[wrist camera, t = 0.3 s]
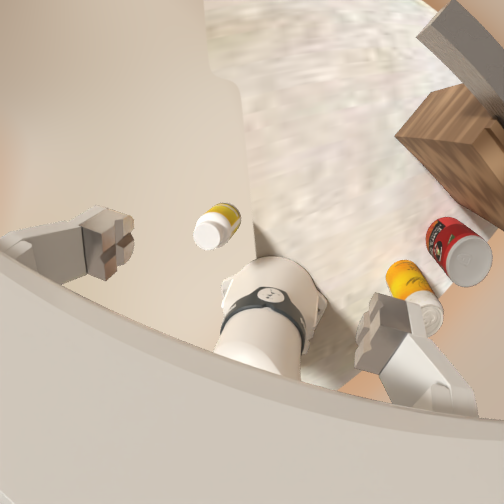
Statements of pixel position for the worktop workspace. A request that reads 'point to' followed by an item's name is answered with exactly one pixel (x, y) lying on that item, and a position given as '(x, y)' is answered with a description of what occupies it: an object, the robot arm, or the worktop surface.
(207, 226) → the supplement bottle
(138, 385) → the robot arm
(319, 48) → the worktop surface
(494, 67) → the metal block
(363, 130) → the worktop surface
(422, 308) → the beer can
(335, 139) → the worktop surface
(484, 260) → the canned food
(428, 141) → the wooden slab
